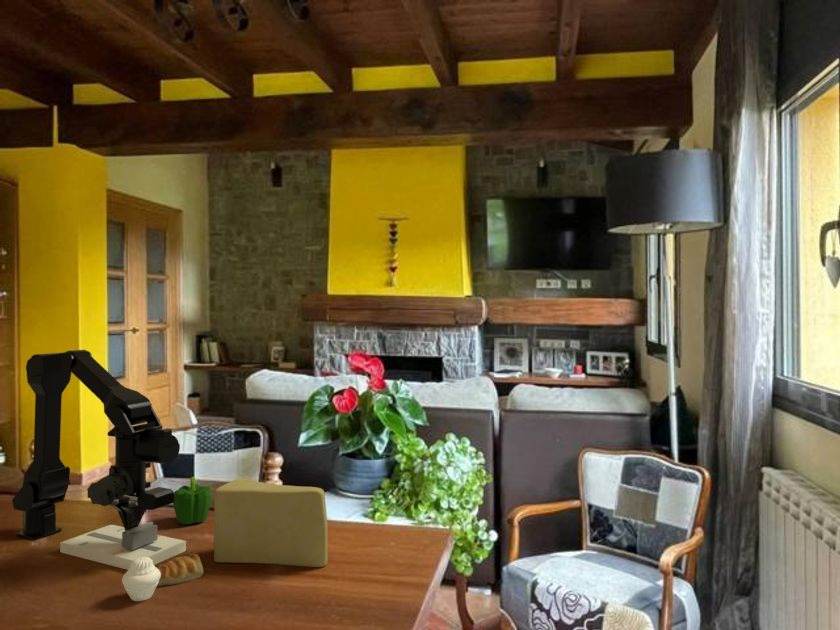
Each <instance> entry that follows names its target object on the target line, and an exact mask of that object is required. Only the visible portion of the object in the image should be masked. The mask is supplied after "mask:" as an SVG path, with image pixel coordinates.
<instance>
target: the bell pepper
mask: <svg viewBox="0 0 840 630" xmlns="http://www.w3.org/2000/svg"><path fill="white" fill-rule="evenodd" d="M211 501H212V491H211V488H210V486H205V485H204V486H203V485H200V484H198V483H196V478H195V476H191V477H190V486H188V485H182V486H181V487H179V488H178V489H177V490H175V491H174V503H172V505H173V508H174V514H175V517H176V519H177V521H178V523H180V524H182V525H187V526H188V525H192V524H196V523H199V524H200V523H203V522H205V521H206V519H207V518H208V515H209V511H210V508H211Z"/></svg>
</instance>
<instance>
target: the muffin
mask: <svg viewBox="0 0 840 630" xmlns="http://www.w3.org/2000/svg"><path fill="white" fill-rule="evenodd" d="M160 577H161V573H160V571H159V570H158V569H157V567H156V566H155V565H154V564H153V561H152V560H151V559H150V558H149V557H140V558H137V559H135V560H134V561H132V563H131V565H130V568H129V570H127V571H126V572H125V573H124V574H123V576H122V579H121V582H122V585H123V588H124V590H125V592H126V593H127V596H129V598H130V600H131V601H134V602H143V601H146V600H149V599H150V598H152V596H153V594H154V592H155V590H156V589H157V587H158V586H157V585H158V583H159V579H160Z"/></svg>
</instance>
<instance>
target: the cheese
mask: <svg viewBox="0 0 840 630" xmlns="http://www.w3.org/2000/svg"><path fill="white" fill-rule="evenodd" d="M213 495H214V500H213V501H214V502H213V504H214V505H213V508H214V509H213V512H214V515H213V518H214V519H213V526H214V527H213V560H214V562H215V563H223V564H225V563H227V564H229V563H232V564H233V563H234V564H236V563H237V564H266V565H279V566H291V567H292V566H293V567H307V568H308V567H309V568H310V567H311V568H323V567H325V566H327V565H328V518H327V517H328V516H327V506H326V494H325V491H324V489H322V488H321V487H316V486H297V485H284V484H281V485H280V484H273V483H265V482H262V481H261V482H260V481H258V480H257V481H256V480H252V479H247V478H246V479H245V478H241V477H240V478H239V477H238V478H236V479H233V480H231V481H229V482H227V483H225V484H222V485H221V486H219V487H217V488H216V489H215V490H214V494H213Z"/></svg>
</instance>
